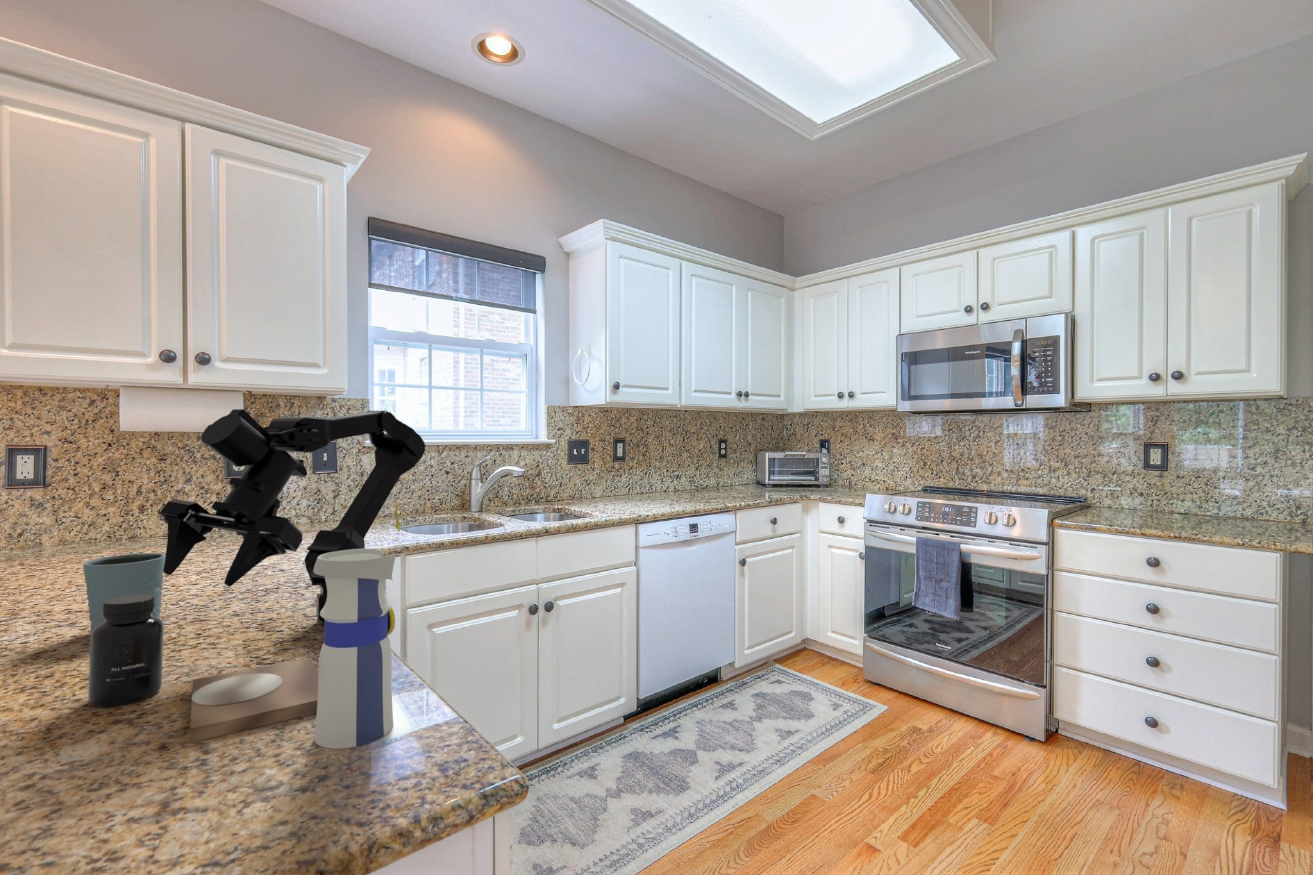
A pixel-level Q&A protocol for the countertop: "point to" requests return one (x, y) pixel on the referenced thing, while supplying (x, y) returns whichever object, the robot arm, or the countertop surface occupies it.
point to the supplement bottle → (126, 652)
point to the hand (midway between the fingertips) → (196, 579)
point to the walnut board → (252, 698)
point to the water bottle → (355, 648)
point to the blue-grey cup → (123, 581)
